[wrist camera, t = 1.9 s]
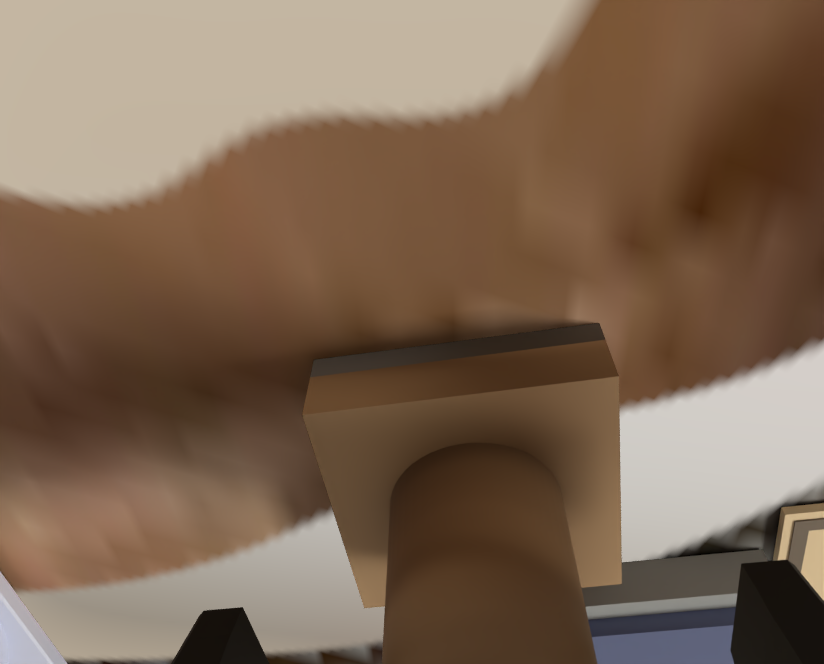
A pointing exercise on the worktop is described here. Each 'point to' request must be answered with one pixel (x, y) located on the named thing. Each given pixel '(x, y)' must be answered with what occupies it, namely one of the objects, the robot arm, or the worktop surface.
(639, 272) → the worktop surface
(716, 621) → the ink pad
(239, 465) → the worktop surface
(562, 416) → the stamp
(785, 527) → the card sheet
